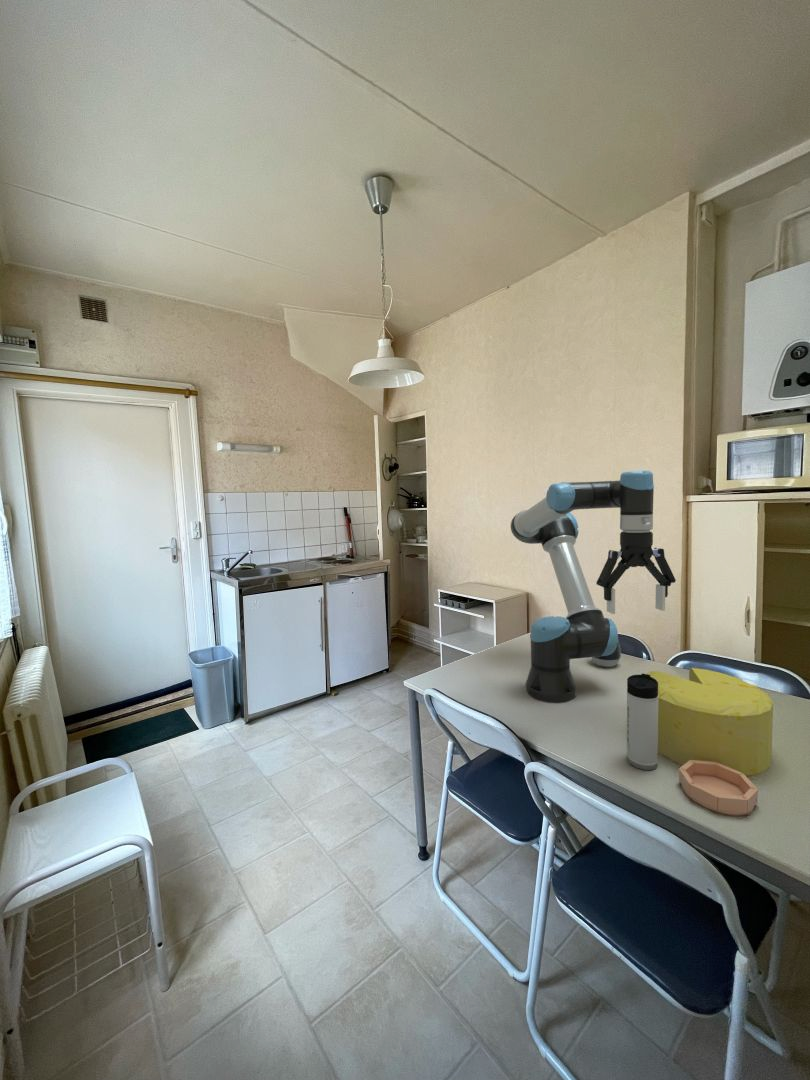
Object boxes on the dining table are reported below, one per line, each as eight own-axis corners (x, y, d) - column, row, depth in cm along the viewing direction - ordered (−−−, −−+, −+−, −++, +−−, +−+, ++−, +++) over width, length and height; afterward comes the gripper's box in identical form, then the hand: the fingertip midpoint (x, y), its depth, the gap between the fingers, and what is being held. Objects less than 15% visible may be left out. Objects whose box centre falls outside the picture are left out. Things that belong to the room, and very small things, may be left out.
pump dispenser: (586, 659, 162) (585, 620, 161) (615, 659, 160) (615, 620, 159) (594, 669, 152) (593, 628, 150) (625, 670, 150) (625, 628, 149)
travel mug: (661, 760, 99) (661, 677, 97) (653, 774, 94) (654, 687, 93) (631, 750, 103) (631, 670, 102) (623, 763, 99) (623, 679, 97)
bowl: (697, 812, 83) (697, 795, 82) (672, 773, 94) (672, 758, 94) (768, 819, 80) (769, 801, 80) (733, 778, 92) (734, 763, 92)
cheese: (651, 707, 124) (652, 657, 122) (769, 735, 107) (771, 678, 106) (631, 750, 104) (631, 690, 102) (772, 793, 87) (775, 722, 86)
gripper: (597, 534, 106) (597, 617, 108) (692, 529, 108) (690, 611, 110) (582, 532, 114) (583, 610, 116) (671, 527, 116) (670, 604, 118)
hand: (635, 611), depth 113 cm, fingers open, 13 cm apart
